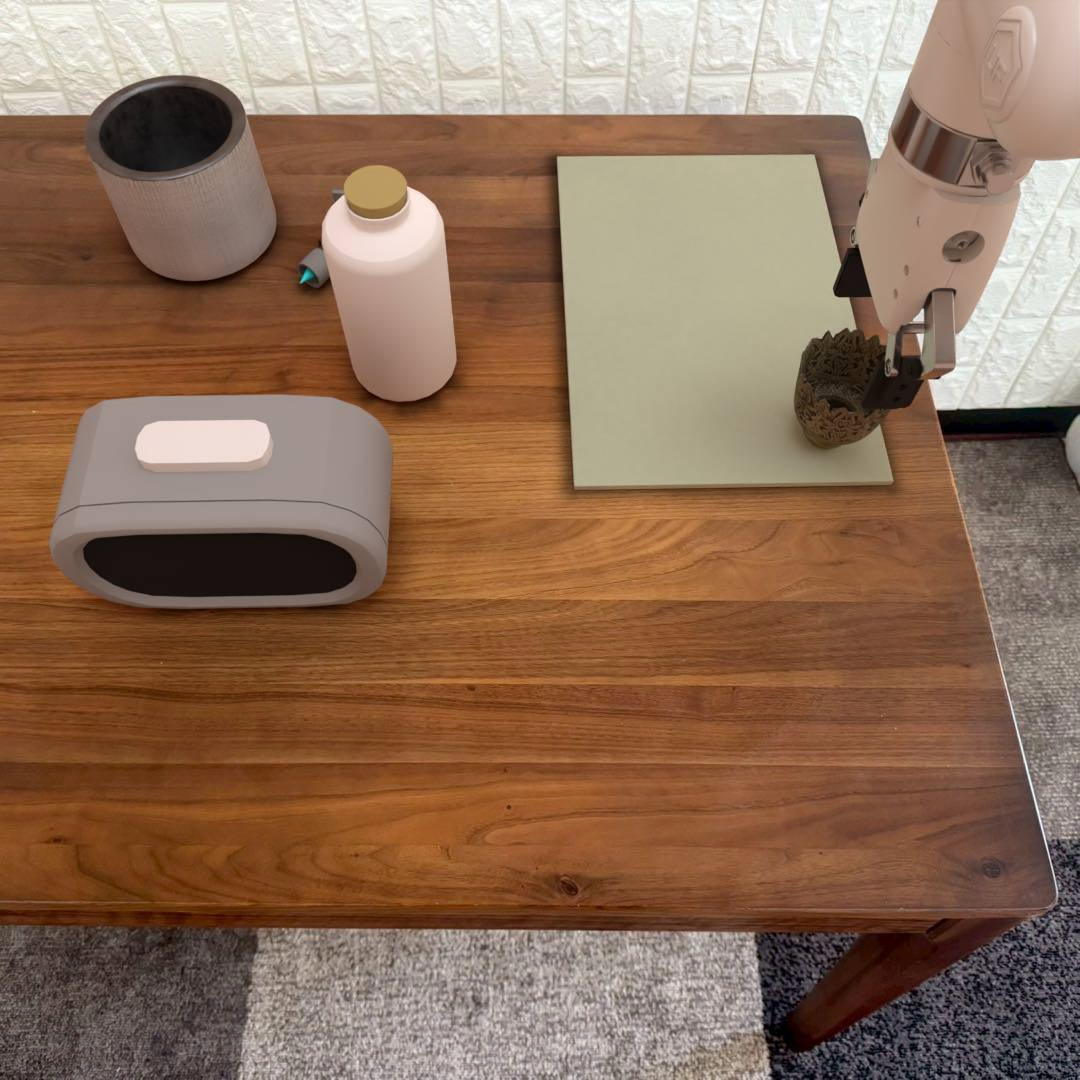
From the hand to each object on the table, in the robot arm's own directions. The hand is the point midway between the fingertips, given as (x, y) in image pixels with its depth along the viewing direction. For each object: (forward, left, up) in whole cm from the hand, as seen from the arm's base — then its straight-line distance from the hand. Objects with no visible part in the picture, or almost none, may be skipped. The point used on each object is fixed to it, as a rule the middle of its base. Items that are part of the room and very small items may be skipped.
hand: (868, 347), depth 64 cm
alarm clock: (-9, +43, -11) cm, 45 cm away
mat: (+14, +8, -11) cm, 19 cm away
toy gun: (+19, +36, -11) cm, 42 cm away
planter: (+23, +51, -11) cm, 57 cm away
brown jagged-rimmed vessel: (0, 0, -11) cm, 11 cm away
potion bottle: (+8, +33, -11) cm, 35 cm away
